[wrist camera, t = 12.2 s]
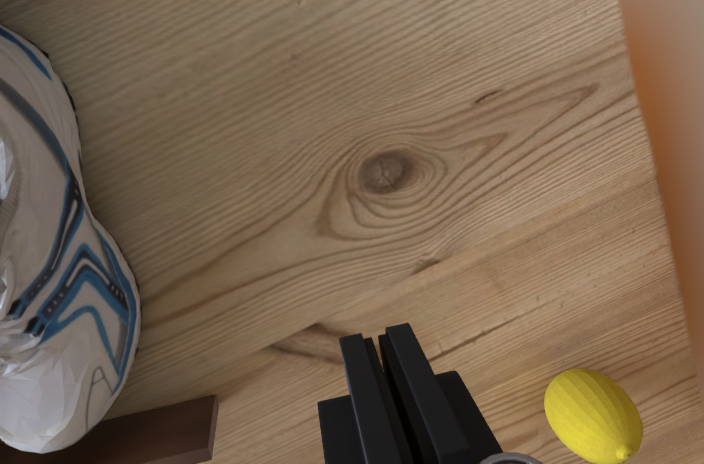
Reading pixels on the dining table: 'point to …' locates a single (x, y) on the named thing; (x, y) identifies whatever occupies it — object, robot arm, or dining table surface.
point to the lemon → (593, 416)
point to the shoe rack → (138, 439)
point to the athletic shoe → (54, 268)
